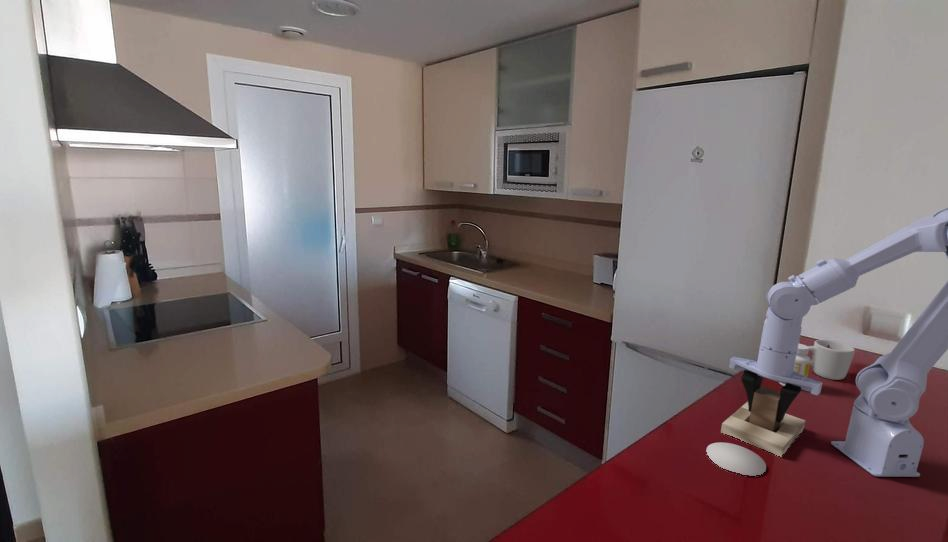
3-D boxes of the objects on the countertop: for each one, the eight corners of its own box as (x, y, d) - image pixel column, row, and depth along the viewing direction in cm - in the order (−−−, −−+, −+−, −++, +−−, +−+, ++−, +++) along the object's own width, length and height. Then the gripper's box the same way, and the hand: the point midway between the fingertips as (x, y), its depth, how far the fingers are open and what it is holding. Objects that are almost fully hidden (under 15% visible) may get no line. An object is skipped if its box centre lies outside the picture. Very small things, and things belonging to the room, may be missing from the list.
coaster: (778, 476, 76) (778, 474, 76) (724, 476, 76) (724, 474, 76) (745, 444, 85) (745, 442, 85) (696, 444, 85) (696, 442, 85)
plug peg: (777, 432, 90) (785, 393, 88) (770, 439, 87) (778, 400, 85) (754, 423, 92) (761, 385, 91) (747, 430, 90) (754, 392, 88)
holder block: (803, 429, 91) (805, 420, 90) (781, 457, 81) (783, 447, 81) (747, 409, 98) (748, 400, 97) (720, 432, 89) (722, 423, 88)
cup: (802, 378, 114) (808, 347, 112) (791, 365, 122) (796, 336, 120) (854, 385, 111) (861, 353, 109) (839, 371, 119) (846, 341, 117)
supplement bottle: (796, 380, 112) (804, 342, 110) (810, 391, 107) (818, 351, 105) (773, 379, 113) (780, 340, 111) (785, 389, 108) (793, 349, 105)
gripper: (831, 354, 83) (816, 424, 86) (743, 331, 94) (732, 394, 97) (821, 364, 79) (806, 437, 82) (729, 339, 89) (719, 405, 92)
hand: (765, 415), depth 89 cm, fingers closed on plug peg, 4 cm apart
